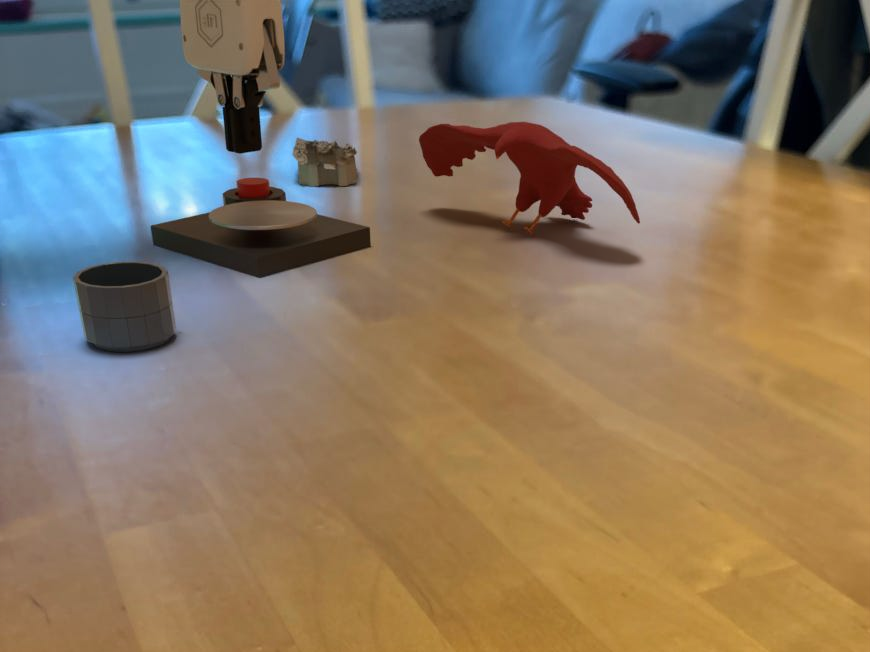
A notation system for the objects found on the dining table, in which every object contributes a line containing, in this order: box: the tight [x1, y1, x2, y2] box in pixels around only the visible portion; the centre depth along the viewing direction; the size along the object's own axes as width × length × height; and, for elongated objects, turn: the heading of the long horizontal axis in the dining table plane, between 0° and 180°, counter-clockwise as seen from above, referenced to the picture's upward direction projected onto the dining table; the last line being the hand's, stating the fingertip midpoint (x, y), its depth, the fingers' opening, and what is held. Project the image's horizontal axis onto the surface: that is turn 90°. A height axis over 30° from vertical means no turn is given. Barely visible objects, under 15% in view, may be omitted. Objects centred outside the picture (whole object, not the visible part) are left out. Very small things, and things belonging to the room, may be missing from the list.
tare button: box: [236, 177, 271, 198], centre depth 112 cm, size 3×3×2 cm
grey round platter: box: [208, 200, 318, 230], centre depth 104 cm, size 10×10×1 cm
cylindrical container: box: [72, 260, 177, 353], centre depth 85 cm, size 7×7×5 cm
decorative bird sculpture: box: [418, 121, 641, 237], centre depth 112 cm, size 28×9×15 cm
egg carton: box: [292, 137, 358, 188], centre depth 133 cm, size 11×8×4 cm
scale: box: [149, 186, 372, 279], centre depth 108 cm, size 17×14×4 cm
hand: (244, 150), depth 109 cm, fingers closed
